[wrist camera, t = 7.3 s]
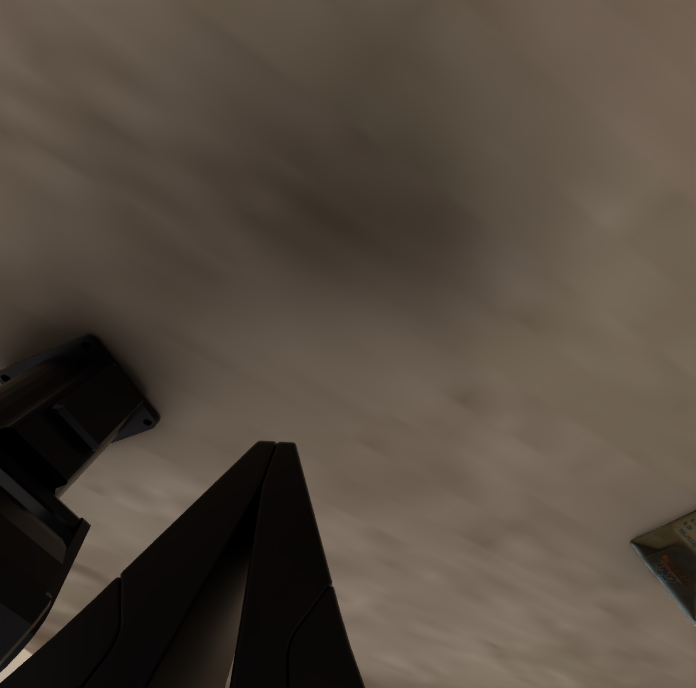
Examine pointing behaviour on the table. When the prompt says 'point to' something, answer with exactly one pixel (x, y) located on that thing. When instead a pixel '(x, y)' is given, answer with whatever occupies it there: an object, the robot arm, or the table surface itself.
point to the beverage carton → (673, 560)
